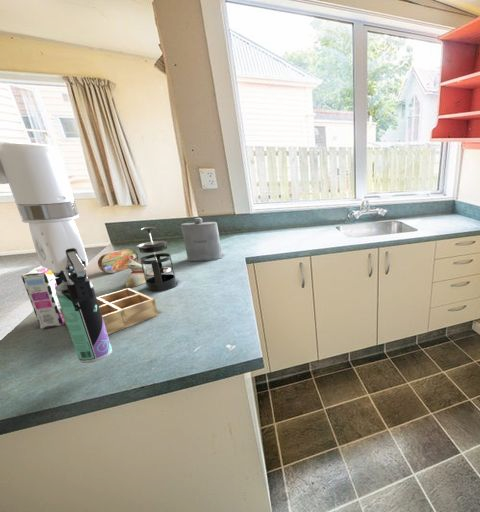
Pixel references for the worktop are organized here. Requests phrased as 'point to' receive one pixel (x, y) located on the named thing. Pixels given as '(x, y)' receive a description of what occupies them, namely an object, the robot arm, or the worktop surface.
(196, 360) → the worktop surface
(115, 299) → the tray
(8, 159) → the robot arm
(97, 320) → the spray can
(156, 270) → the french press
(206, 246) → the flask
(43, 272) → the candy bar box
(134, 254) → the tin
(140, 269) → the chocolate bunny
